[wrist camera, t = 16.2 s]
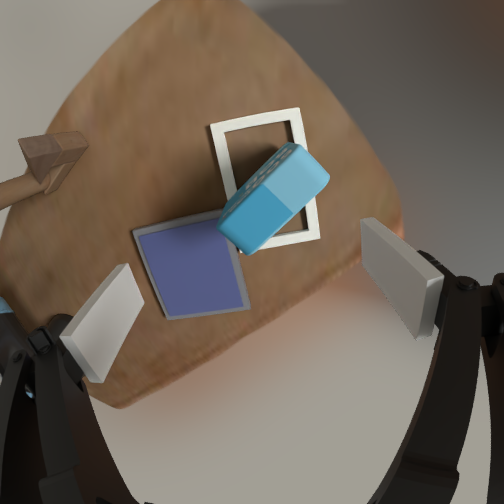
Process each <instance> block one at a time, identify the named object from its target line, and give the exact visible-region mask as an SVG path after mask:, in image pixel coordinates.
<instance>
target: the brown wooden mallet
mask: <svg viewBox="0 0 504 504" xmlns="http://www.w3.org/2000/svg"><path fill="white" fill-rule="evenodd" d="M18 142H19V145H20V147H21V150H22V152H23V155H24V157H25V160H26V162H27V164H28V167H29V169H30V171H31V173H28V174H25V175H22V176H19V177H16V178H13V179H10V180H7V181H5V182H2V183H0V210H2V209H4V208H6V207H8V206H11V205H13V204H15V203H17V202H19V201H21V200H24V199H26V198H28V197H30V196H33V195H35V194H37V193H40V192H42V191H43V192H44V194H48V193H50V192H53V191H55V190H57V189H58V187H59V186H60V184H61V183H62V181H63V180H64V178H65V177H66V175H67V174H68V173H69V171H70V170H71V168H72V167H73V166H74V164H75V163H76V160H78V159H79V158H80V156H81V155H82V154H83V152H84V151H85V150H86V148H87V147H88V146H89V145H88V143H87V142H86V140H85V139H84V138H83V136H82V135H81V134H80V132H78V131H76V132H66V133H57V134H47V135H40V136H33V137H27V138H21V139H18Z"/></svg>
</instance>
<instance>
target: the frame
mask: <svg viewBox="0 0 504 504" xmlns="http://www.w3.org/2000/svg"><path fill="white" fill-rule="evenodd" d="M286 120H290V124H291V129H292V134H293V139H294V143H295V144H300V145H302V146H303V147H304V149H305V150H306V151H307V145H306V140H305V134H304V129H303V124H302V119H301V114H300V109H299V108H292V109H285V110H279V111H273V112H267V113H261V114H256V115H250V116H245V117H241V118H236V119H231V120H227V121H223V122H218V123H214V124H210V127H211V131H212V135H213V140H214V144H215V149H216V153H217V157H218V161H219V166H220V170H221V174H222V179H223V183H224V187H225V191H226V195H227V200H229V199H230V198H231V197H232V196H233V195H234V194H235V193H236V192H237V188H236V183H235V179H234V174H233V170H232V166H231V161H230V157H229V152H228V148H227V143H226V139H225V135H224V132H228V131H233V130H237V129H242V128H247V127H252V126H257V125H262V124H268V123H274V122H280V121H286ZM307 152H308V151H307ZM305 210H306V217H307V224H308V229H305V230H300V231H294V232H289V233H283V234H278V235H273V236H272V237H271V238H270V239H269V240H268V241H267V242H266V243H265V244H264V245H262V246H261V247H260V248H259V249H258V250H260V249H265V248H271V247H276V246H282V245H287V244H293V243H298V242H304V241H309V240H315V239H320V232H319V224H318V216H317V208H316V201H315V197H314V198H313V199H311V200H310V201H309V202H308V203H307V204H306V205H305ZM239 250H240V249H239ZM240 253H243V252H242V251H241V250H240Z"/></svg>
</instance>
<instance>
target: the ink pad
mask: <svg viewBox="0 0 504 504" xmlns="http://www.w3.org/2000/svg"><path fill="white" fill-rule="evenodd" d="M223 209H224V208H221V209H216V210H212V211H207V212H202V213H198V214H193V215H189V216H185V217H180V218H176V219H172V220H168V221H163V222H159V223H155V224H151V225H147V226H143V227H139V228H135V229H134V230H133V231H132V232H133V235H134V238H135V240H136V243H137V246H138V249H139V252H140V254H141V257H142V260H143V262H144V265H145V267H146V270H147V273H148V275H149V278H150V280H151V283H152V285H153V287H154V290H155V292H156V295H157V297H158V299H159V302H160V304H161V306H162V309H163V311H164V313H165V315H166V318H167V320H173V319H182V318H190V317H198V316H206V315H214V314H221V313H228V312H235V311H242V310H249V309H251V303H250V299H249V296H248V292H247V288H246V284H245V280H244V276H243V272H242V268H241V264H240V260H239V256H238V252H237V248H236V246H235V245H234V244H233V243H232V242H230V241H229V240H228V239H227V238H226V237H225V236H224V235H222V234H221V233H220V232H219V231H218V230H217V229H216V226H217V223H218V221H219V219H220V216H221V214H222V212H223Z"/></svg>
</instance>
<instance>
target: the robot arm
mask: <svg viewBox="0 0 504 504" xmlns="http://www.w3.org/2000/svg"><path fill="white" fill-rule="evenodd" d="M360 223H361V244H362V266H363V267H364V268H365V270H366V271H367V272H368V274H369V275H370V276H371V277H372V279H373V280H374V281H375V282H376V284H377V286H378V287H379V288H380V290H381V291H382V292H383V294H384V295H385V296H386V298H387V299H388V301H389V302H390V303H391V305H392V306H393V307H394V309H395V310H396V312H397V313H398V315H399V316H400V317H401V319H402V321H403V322H404V323H405V325H406V326H407V328H408V329H409V331H410V332H411V334H412V335H413V337H414V338H415V340H416V341H417V340H420V339H423V338H425V337H428V336H431V335H432V332H433V328H434V324H435V325H436V326H437V327H438V328H439V333H438V337H437V340H436V343H435V347H434V353H433V357H432V361H431V365H430V368H429V372H428V375H427V379H426V381H425V385H424V388H423V391H422V394H421V397H420V399H419V402H418V405H417V408H416V410H415V413H414V415H413V418H412V420H411V423H410V425H409V428H408V430H407V433H406V435H405V437H404V439H403V441H402V443H401V446H400V448H399V450H398V452H397V454H396V456H395V458H394V460H393V462H392V464H391V466H390V468H389V469H388V471H387V473H386V475H385V477H384V478H383V480H382V482H381V484H380V485H379V487H378V489H377V490H376V492H375V493H374V494H373V496H372V497H371V499H370V500H369V502H368V503H367V504H450V502H451V500H452V497H453V495H454V493H455V490H456V488H457V484H458V481H459V472H458V471H457V464H458V461H459V457H460V455H461V451H462V448H463V445H464V441H465V437H466V434H467V430H468V426H469V422H470V417H471V413H472V408H473V403H474V397H475V391H476V384H477V377H478V368H479V359H480V346H481V350H482V355H483V360H484V366H485V372H486V378H487V386H488V394H489V405H490V419H491V463H490V476H489V486H488V495H487V504H504V273H498V274H496V275H495V276H494V279H493V283H492V285H488V286H480V284H479V283H478V282H477V281H476V280H474V279H473V278H470V277H467V276H458V277H456V276H455V275H453V274H452V273H451V272H450V271H449V270H448V269H447V268H445V267H444V266H443V265H441V263H440V262H438V261H437V260H436V259H435V258H434V257H432V256H431V255H430V254H428V253H426V252H423V251H421V250H419V251H415V250H414V249H413V248H412V247H411V246H409V245H408V244H407V243H406V242H404V241H403V240H402V239H401V238H399V237H398V236H397V235H396V234H394V233H393V232H392V231H391V230H389V229H388V228H387V227H385V226H384V225H383V224H381V223H380V222H379V221H377V220H376V219H375V218H373V217H371V218H365V219H360ZM143 304H144V300H143V298H142V296H141V294H140V291H139V289H138V287H137V284H136V282H135V279H134V277H133V274H132V272H131V269H130V267H129V264H128V263H126V264H121V265H117V266H116V267H115V269H114V270H113V271H112V272H111V273H110V274H109V275H108V277H107V278H106V279H105V280H104V281H103V282H102V283H101V285H100V286H99V287H98V288H97V289H96V291H95V292H94V293H93V294H92V295H91V296H90V298H89V299H88V300H87V301H86V303H85V304H84V305H83V306H82V307H81V309H80V310H79V311H78V312H77V314H76V315H75V316H74V317H72V316H69V315H66V314H59V315H56V316H55V317H54V318H53V319H52V320H51V321H50V323H49V325H48V327H46V326H40V327H38V328H36V329H35V330H33V331H32V332H31V333H30V334H29V333H28V332H27V330H26V329H25V328H24V326H23V325H22V323H21V322H20V321H19V319H18V318H17V316H16V315H15V312H14V311H13V310H12V309H11V308H10V306H9V305H8V304H7V302H6V301H5V299H4V298H2V297H0V504H139V503H138V502H137V501H136V500H135V499H134V498H133V497H132V495H131V493H130V492H129V490H128V488H127V486H126V484H125V482H124V480H123V478H122V477H121V475H120V473H119V471H118V469H117V466H116V464H115V462H114V460H113V458H112V456H111V454H110V451H109V449H108V447H107V444H106V442H105V440H104V437H103V435H102V432H101V430H100V427H99V424H98V422H97V419H96V416H95V413H94V410H93V407H92V404H91V401H90V398H89V395H88V392H87V388H86V385H85V383H84V381H83V380H82V378H83V377H84V376H85V375H86V376H87V378H88V379H89V380H90V382H95V383H103V382H104V380H105V377H106V375H107V373H108V371H109V369H110V367H111V365H112V363H113V361H114V359H115V357H116V355H117V353H118V351H119V349H120V347H121V345H122V343H123V341H124V340H125V338H126V336H127V334H128V332H129V330H130V328H131V326H132V324H133V323H134V321H135V319H136V317H137V315H138V313H139V312H140V310H141V308H142V306H143ZM144 504H153V503H148V502H145V503H144Z"/></svg>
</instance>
